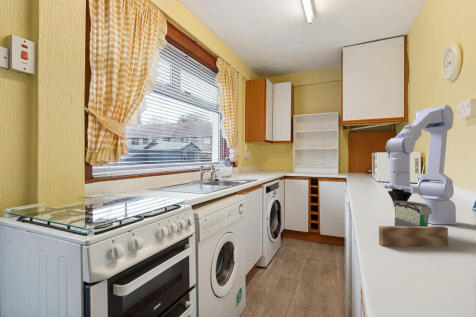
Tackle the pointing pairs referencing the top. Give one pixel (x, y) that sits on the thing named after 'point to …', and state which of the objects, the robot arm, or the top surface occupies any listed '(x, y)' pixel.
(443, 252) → the top surface
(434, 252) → the top surface
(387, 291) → the top surface
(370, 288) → the top surface
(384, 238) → the shelf panel
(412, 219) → the food container
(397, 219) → the bookend
